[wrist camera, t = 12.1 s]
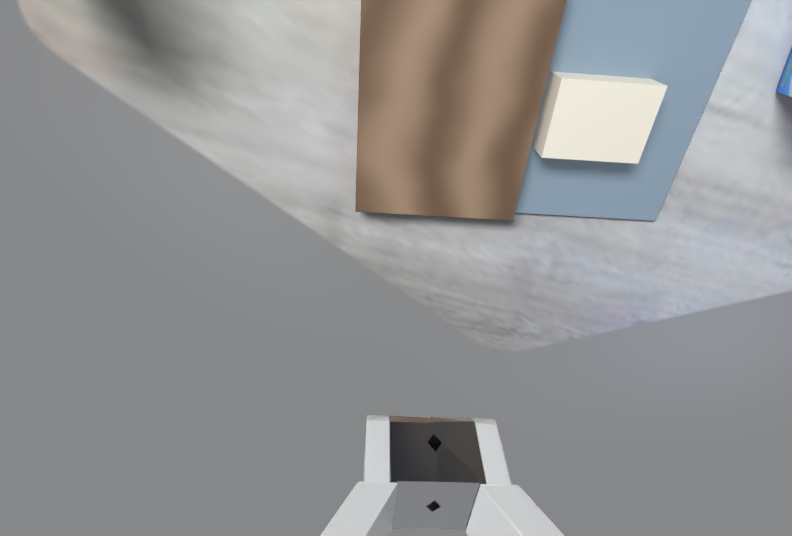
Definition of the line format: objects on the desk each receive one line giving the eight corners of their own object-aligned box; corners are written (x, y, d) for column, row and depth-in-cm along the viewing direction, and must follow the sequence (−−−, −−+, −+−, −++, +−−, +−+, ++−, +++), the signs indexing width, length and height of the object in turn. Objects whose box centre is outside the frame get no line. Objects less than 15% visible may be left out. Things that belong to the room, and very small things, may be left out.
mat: (748, -2, 33) (752, -1, 33) (653, 218, 43) (655, 220, 43) (560, -18, 32) (562, -18, 32) (507, 210, 42) (508, 212, 42)
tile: (651, 78, 36) (667, 86, 34) (624, 153, 39) (638, 163, 37) (551, 71, 35) (561, 78, 33) (533, 147, 39) (541, 157, 37)
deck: (560, -18, 32) (570, -17, 31) (507, 210, 42) (512, 220, 41) (363, -36, 32) (362, -35, 30) (356, 201, 42) (355, 211, 40)
